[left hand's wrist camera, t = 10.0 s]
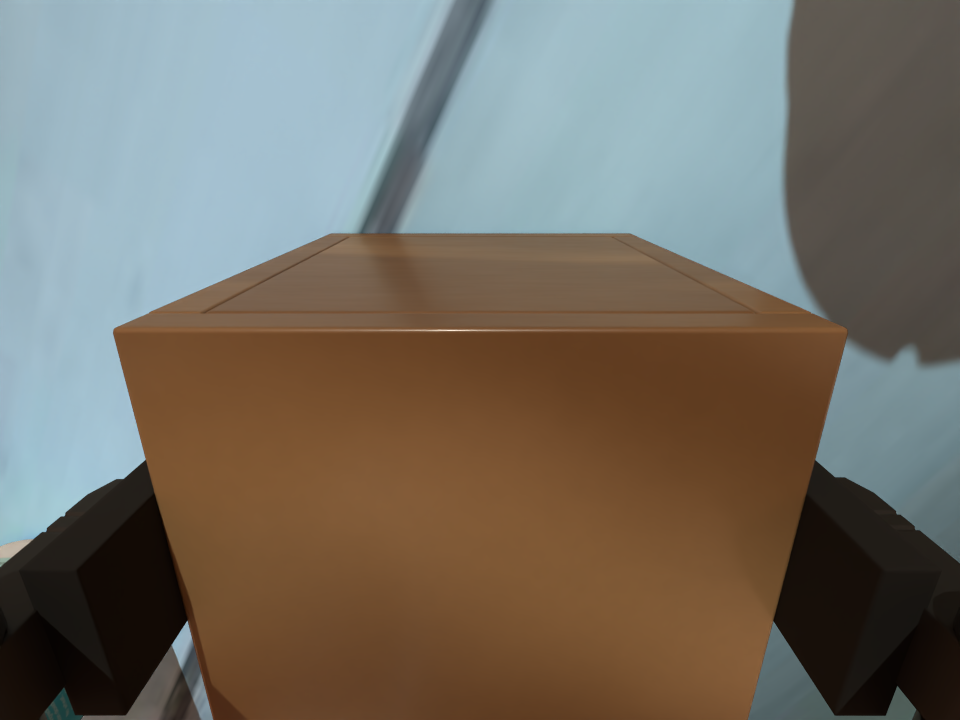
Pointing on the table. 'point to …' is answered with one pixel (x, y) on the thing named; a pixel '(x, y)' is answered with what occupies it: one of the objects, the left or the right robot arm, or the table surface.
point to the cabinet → (480, 476)
